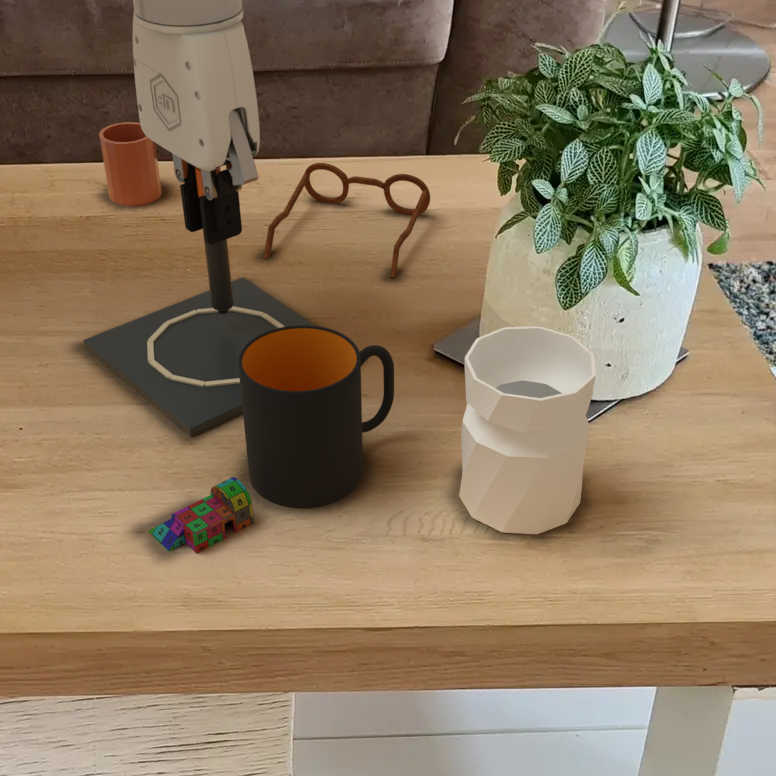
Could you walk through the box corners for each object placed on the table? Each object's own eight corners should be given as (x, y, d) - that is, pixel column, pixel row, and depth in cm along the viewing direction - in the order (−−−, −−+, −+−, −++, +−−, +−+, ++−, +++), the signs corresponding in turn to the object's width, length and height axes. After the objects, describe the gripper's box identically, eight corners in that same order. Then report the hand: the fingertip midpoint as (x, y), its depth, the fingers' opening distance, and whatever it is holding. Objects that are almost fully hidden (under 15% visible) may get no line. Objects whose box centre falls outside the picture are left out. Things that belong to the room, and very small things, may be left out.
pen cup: (126, 214, 117) (116, 148, 112) (100, 196, 120) (89, 131, 115) (171, 199, 120) (163, 134, 115) (144, 181, 122) (135, 117, 118)
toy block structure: (221, 498, 83) (216, 461, 81) (254, 527, 81) (250, 489, 79) (147, 535, 80) (140, 497, 78) (179, 566, 78) (173, 528, 76)
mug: (426, 463, 87) (428, 347, 80) (288, 528, 81) (279, 407, 75) (362, 410, 92) (360, 296, 86) (228, 466, 86) (215, 349, 80)
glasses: (431, 219, 118) (431, 173, 114) (394, 282, 108) (394, 233, 104) (307, 201, 120) (305, 156, 117) (260, 262, 110) (256, 213, 107)
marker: (220, 320, 96) (204, 173, 88) (207, 310, 98) (190, 165, 89) (239, 312, 97) (225, 167, 89) (226, 303, 99) (211, 159, 91)
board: (191, 441, 88) (189, 426, 87) (85, 351, 97) (82, 337, 96) (355, 363, 97) (355, 349, 96) (244, 288, 106) (242, 274, 105)
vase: (513, 446, 89) (524, 311, 81) (604, 499, 84) (624, 362, 77) (433, 498, 84) (436, 359, 76) (524, 558, 79) (538, 417, 72)
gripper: (82, -22, 84) (120, 211, 95) (205, 37, 75) (231, 286, 86) (172, -40, 88) (198, 185, 99) (299, 13, 79) (312, 254, 90)
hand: (213, 230), depth 93 cm, fingers closed on marker, 2 cm apart
